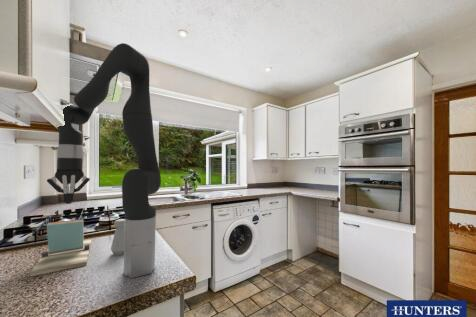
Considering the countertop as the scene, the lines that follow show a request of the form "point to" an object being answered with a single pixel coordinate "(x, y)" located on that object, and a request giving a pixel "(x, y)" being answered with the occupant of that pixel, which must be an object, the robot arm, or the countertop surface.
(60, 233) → the tile
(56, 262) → the board
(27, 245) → the countertop surface
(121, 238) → the salt shaker
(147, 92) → the robot arm
